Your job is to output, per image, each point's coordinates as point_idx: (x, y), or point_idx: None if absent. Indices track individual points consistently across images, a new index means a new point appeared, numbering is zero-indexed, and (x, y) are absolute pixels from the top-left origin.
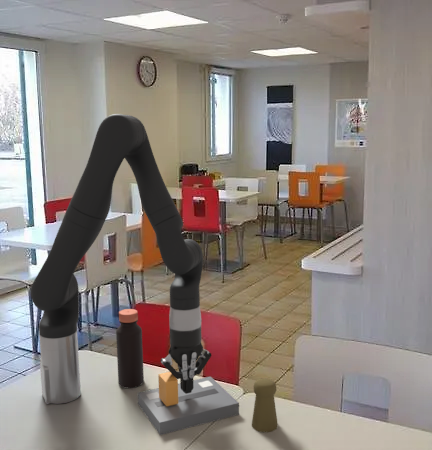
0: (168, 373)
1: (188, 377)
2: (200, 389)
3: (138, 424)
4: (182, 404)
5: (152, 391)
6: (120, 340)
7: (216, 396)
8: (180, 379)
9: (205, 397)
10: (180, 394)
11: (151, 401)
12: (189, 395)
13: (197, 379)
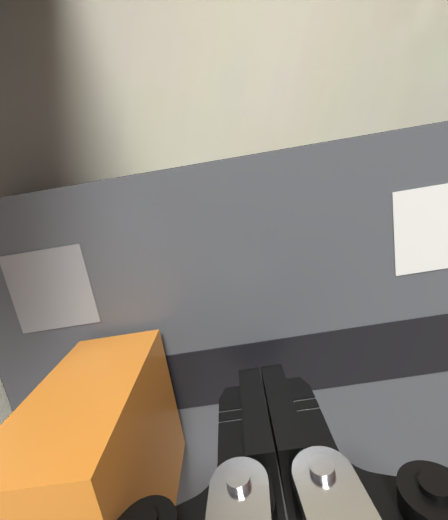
0: (64, 516)
1: (297, 518)
2: (372, 293)
3: (5, 397)
4: (210, 436)
5: (47, 222)
6: None
7: (428, 405)
8: (218, 464)
9: (362, 399)
10: (226, 321)
11: (34, 353)
12: (277, 353)
13: (412, 130)
